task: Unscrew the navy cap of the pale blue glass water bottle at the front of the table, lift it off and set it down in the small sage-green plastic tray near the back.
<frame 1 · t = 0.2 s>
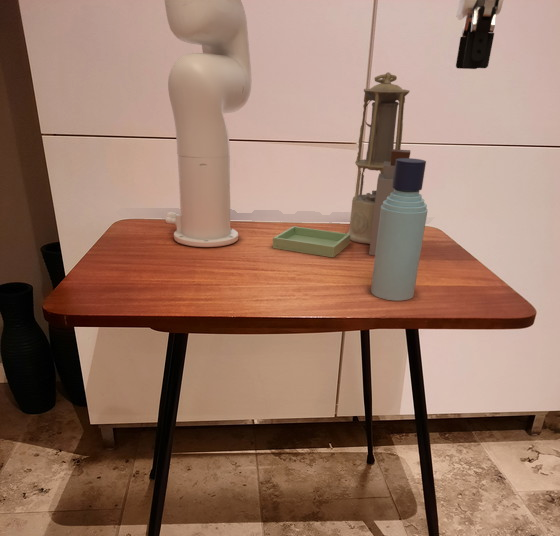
hand: (470, 68, 77), 31 cm above the table, tool pointing down, fingers open, 9 cm apart
tray: (311, 246, 106), on the table
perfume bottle: (387, 252, 104), on the table
bottle: (392, 293, 85), on the table
lamp: (369, 237, 114), on the table
cap: (410, 163, 75), point 19 cm above the table, screwed on, not yet turned
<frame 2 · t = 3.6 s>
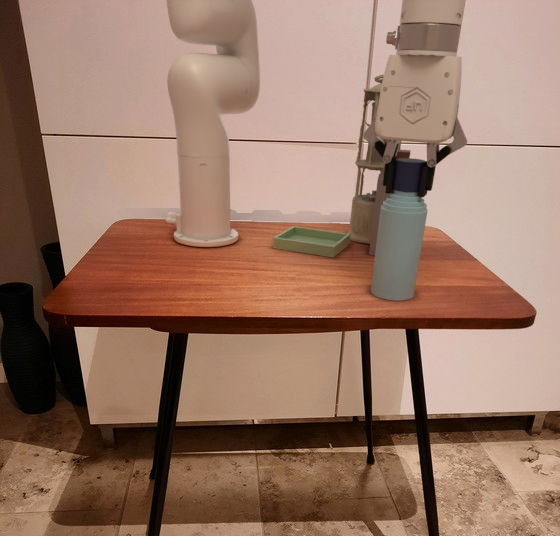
hand: (406, 192, 77), 15 cm above the table, tool pointing down, fingers closed on cap, 4 cm apart
cap: (410, 163, 75), point 19 cm above the table, screwed on, not yet turned, touching gripper
everything else where it was.
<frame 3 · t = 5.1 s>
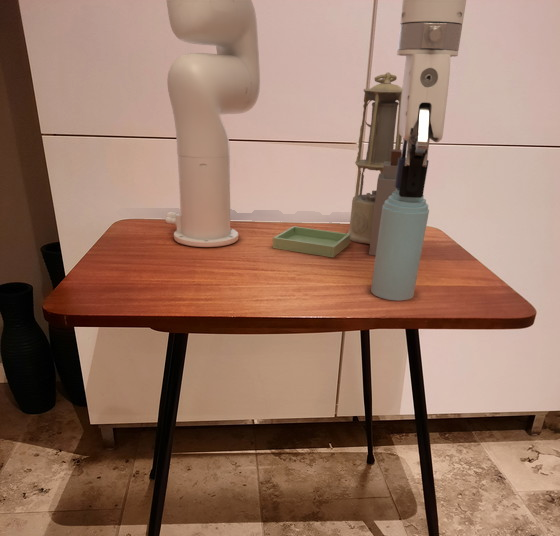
hand: (408, 192, 77), 15 cm above the table, tool pointing down, fingers closed on cap, 4 cm apart
cap: (413, 162, 75), point 19 cm above the table, turned 107° so far, risen 0.1 cm, still on its thread, touching gripper
everything else where it was.
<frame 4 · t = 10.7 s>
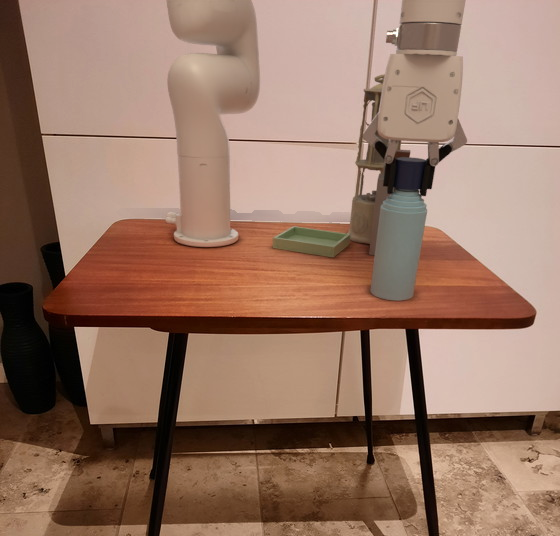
hand: (406, 191, 77), 15 cm above the table, tool pointing down, fingers closed on cap, 4 cm apart
cap: (410, 162, 75), point 19 cm above the table, turned 122° so far, risen 0.1 cm, still on its thread, touching gripper
everything else where it was.
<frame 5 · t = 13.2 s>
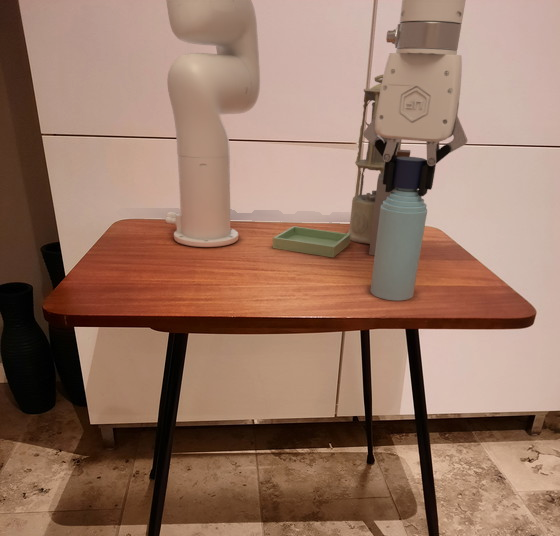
hand: (406, 191, 77), 15 cm above the table, tool pointing down, fingers closed on cap, 4 cm apart
cap: (410, 161, 75), point 19 cm above the table, turned 215° so far, risen 0.2 cm, still on its thread, touching gripper
everything else where it was.
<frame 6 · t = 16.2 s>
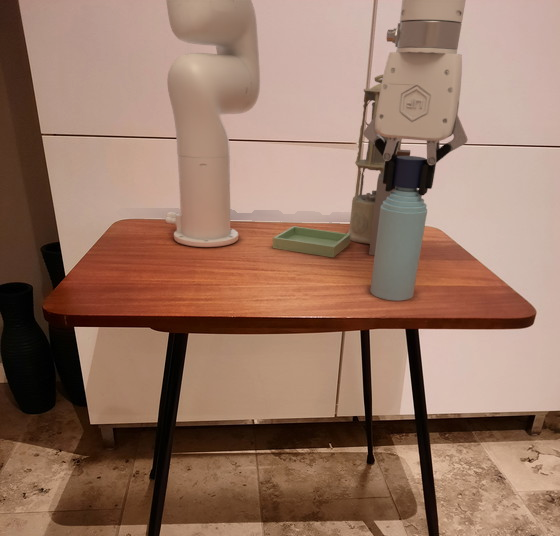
hand: (406, 190, 77), 15 cm above the table, tool pointing down, fingers closed on cap, 4 cm apart
cap: (410, 160, 75), point 19 cm above the table, turned 322° so far, risen 0.3 cm, still on its thread, touching gripper
everything else where it was.
when the fingers open (2 cm above the table, at t = 25.7 s): cap drops 2 cm, resting on tray.
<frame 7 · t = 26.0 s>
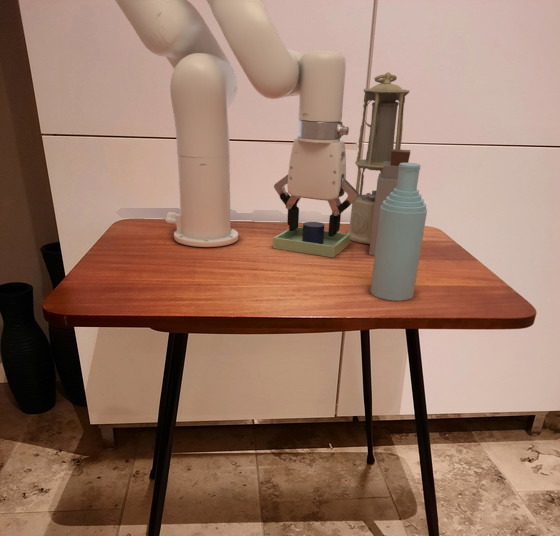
hand: (312, 231, 104), 3 cm above the table, tool pointing down, fingers open, 7 cm apart
cap: (313, 226, 104), point 4 cm above the table, off its thread, touching tray
everything else where it was.
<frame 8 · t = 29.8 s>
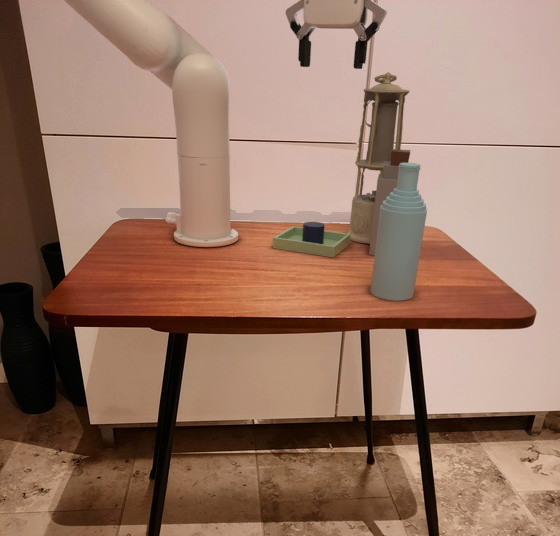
hand: (331, 67, 94), 30 cm above the table, tool pointing down, fingers open, 9 cm apart
nothing on the table moved.
at the end: cap inside the target area in the tray (0.1 cm from its centre), point 3.8 cm above the tray's base; cap point 3.8 cm above the table; the gripper is holding nothing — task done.
